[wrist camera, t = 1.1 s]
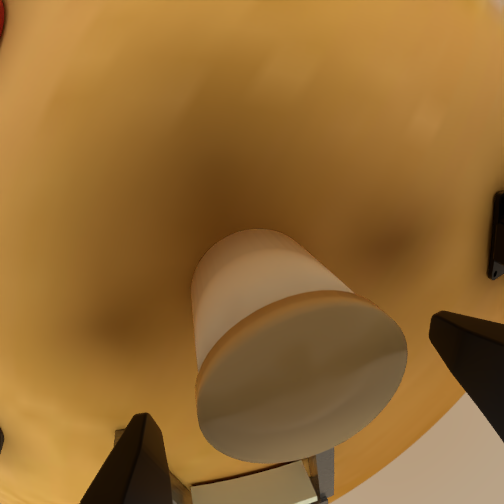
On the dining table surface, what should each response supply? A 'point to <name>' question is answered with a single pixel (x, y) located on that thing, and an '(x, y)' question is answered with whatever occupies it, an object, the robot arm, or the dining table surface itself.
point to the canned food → (1, 16)
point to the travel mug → (1, 440)
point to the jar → (286, 351)
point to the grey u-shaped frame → (319, 479)
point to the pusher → (260, 488)
